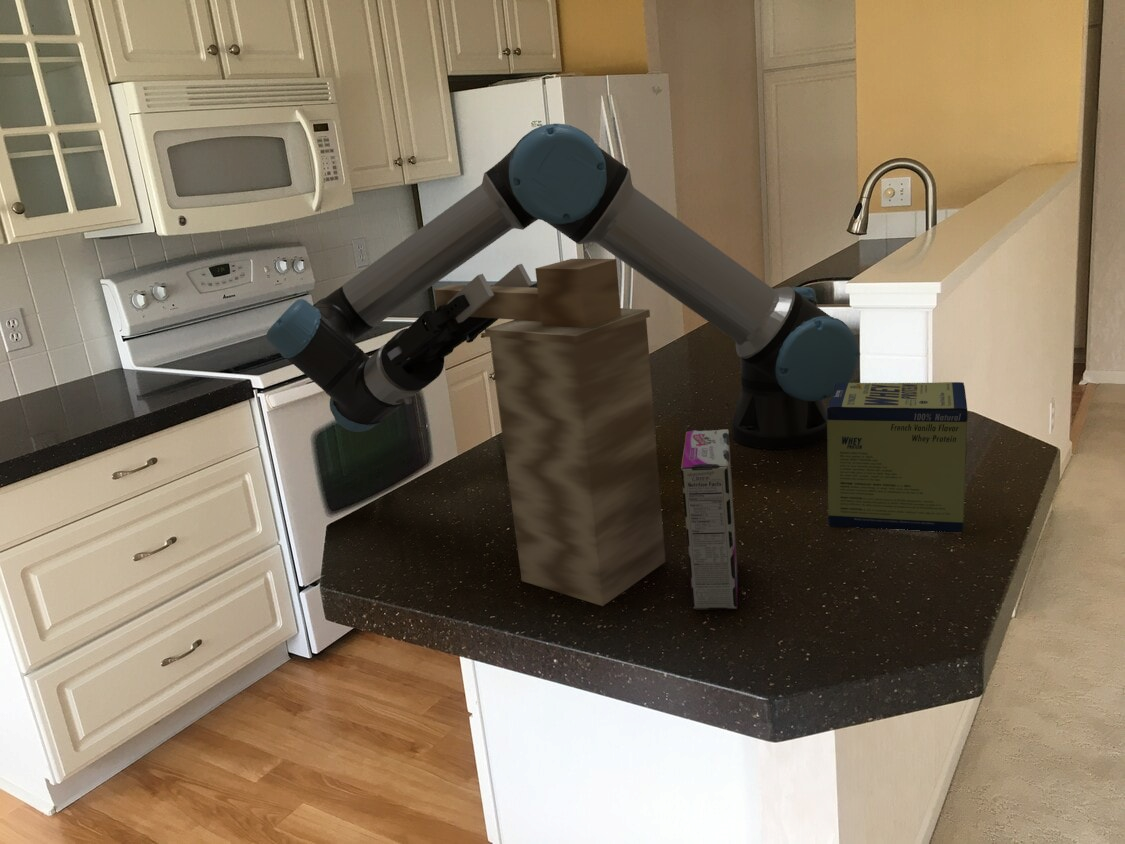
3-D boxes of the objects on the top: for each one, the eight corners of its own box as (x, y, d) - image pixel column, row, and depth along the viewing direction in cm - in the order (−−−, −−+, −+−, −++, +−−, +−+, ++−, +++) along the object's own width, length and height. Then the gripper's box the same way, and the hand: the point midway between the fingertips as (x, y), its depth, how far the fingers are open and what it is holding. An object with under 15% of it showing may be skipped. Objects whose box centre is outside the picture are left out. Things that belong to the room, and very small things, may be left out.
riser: (518, 581, 108) (484, 329, 99) (585, 539, 117) (560, 305, 108) (603, 608, 100) (575, 336, 91) (669, 561, 109) (649, 309, 100)
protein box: (965, 535, 108) (969, 407, 103) (826, 528, 113) (824, 406, 109) (962, 499, 117) (965, 380, 112) (834, 495, 123) (832, 381, 118)
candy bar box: (694, 563, 108) (684, 429, 103) (737, 562, 107) (730, 427, 102) (689, 611, 98) (679, 465, 93) (738, 611, 97) (730, 463, 92)
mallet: (428, 317, 110) (420, 266, 108) (464, 306, 114) (457, 257, 112) (585, 328, 94) (579, 269, 93) (621, 315, 99) (616, 258, 97)
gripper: (470, 372, 127) (574, 292, 110) (361, 411, 114) (461, 327, 97) (444, 324, 127) (545, 237, 111) (333, 357, 114) (428, 265, 98)
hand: (505, 279), depth 104 cm, fingers open, 6 cm apart
